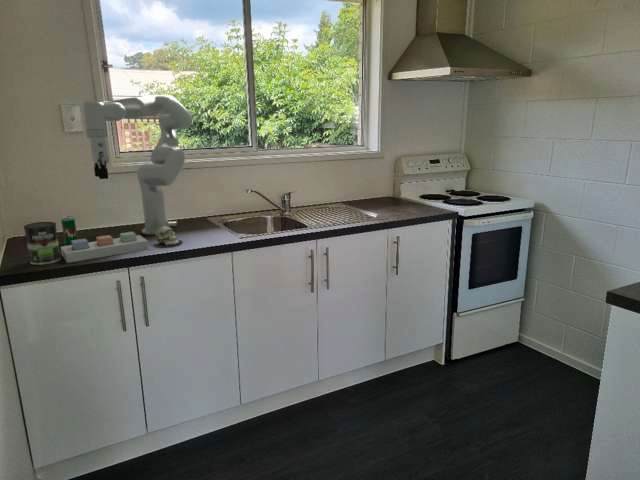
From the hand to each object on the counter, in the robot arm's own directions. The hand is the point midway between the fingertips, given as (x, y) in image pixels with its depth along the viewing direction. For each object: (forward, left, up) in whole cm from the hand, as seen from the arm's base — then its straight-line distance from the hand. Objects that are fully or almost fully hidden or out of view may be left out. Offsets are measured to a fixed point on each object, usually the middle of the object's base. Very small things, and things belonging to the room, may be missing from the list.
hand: (101, 177), depth 186 cm
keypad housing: (+4, +8, -29) cm, 30 cm away
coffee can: (+25, +6, -29) cm, 39 cm away
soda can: (+13, -13, -29) cm, 34 cm away
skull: (-20, +11, -29) cm, 37 cm away
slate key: (+13, +8, -27) cm, 31 cm away
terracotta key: (+4, +8, -27) cm, 28 cm away
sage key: (-6, +8, -27) cm, 28 cm away
